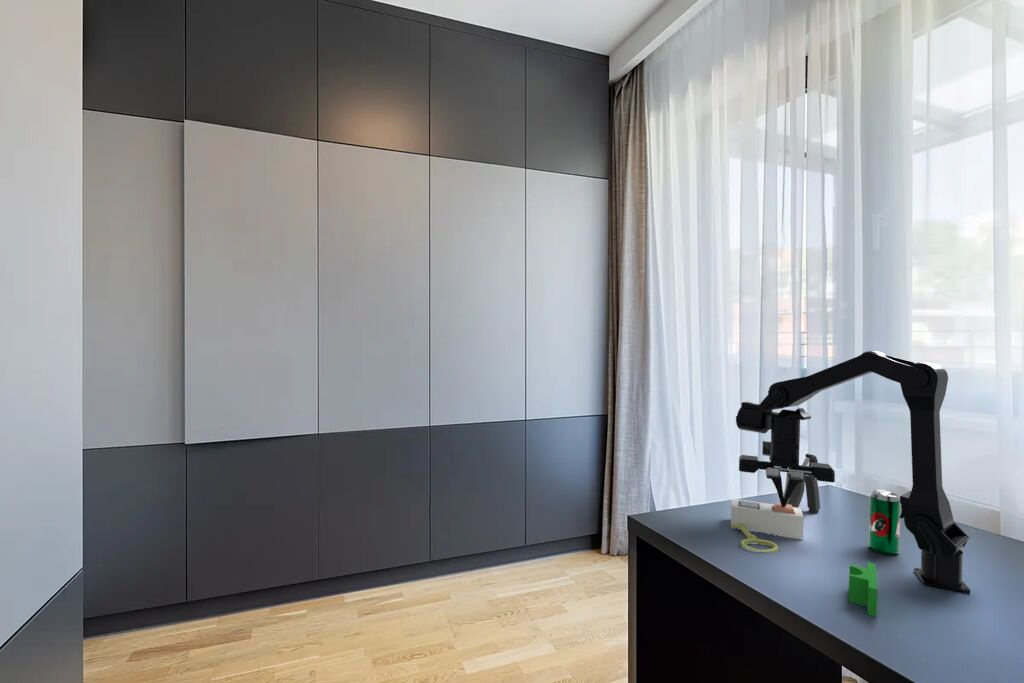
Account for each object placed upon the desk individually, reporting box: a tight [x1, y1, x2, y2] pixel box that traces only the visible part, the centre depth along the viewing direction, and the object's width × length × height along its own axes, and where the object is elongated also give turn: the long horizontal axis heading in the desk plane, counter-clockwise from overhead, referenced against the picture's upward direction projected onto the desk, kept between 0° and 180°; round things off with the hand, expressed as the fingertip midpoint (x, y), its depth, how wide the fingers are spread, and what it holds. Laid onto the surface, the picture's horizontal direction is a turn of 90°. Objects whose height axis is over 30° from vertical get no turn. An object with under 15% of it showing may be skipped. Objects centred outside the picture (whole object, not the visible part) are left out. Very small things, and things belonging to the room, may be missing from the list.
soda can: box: [868, 489, 901, 556], centre depth 105 cm, size 5×5×12 cm
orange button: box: [773, 502, 793, 514], centre depth 114 cm, size 4×4×5 cm
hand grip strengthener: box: [787, 453, 821, 514], centre depth 125 cm, size 2×12×15 cm, turn 118°
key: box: [730, 523, 779, 554], centre depth 108 cm, size 7×12×2 cm, turn 17°
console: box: [730, 498, 804, 541], centre depth 115 cm, size 6×14×5 cm, turn 66°
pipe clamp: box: [848, 562, 878, 617], centre depth 85 cm, size 11×4×5 cm, turn 145°
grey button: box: [740, 500, 758, 509], centre depth 117 cm, size 4×4×5 cm
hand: (783, 505), depth 114 cm, fingers closed
